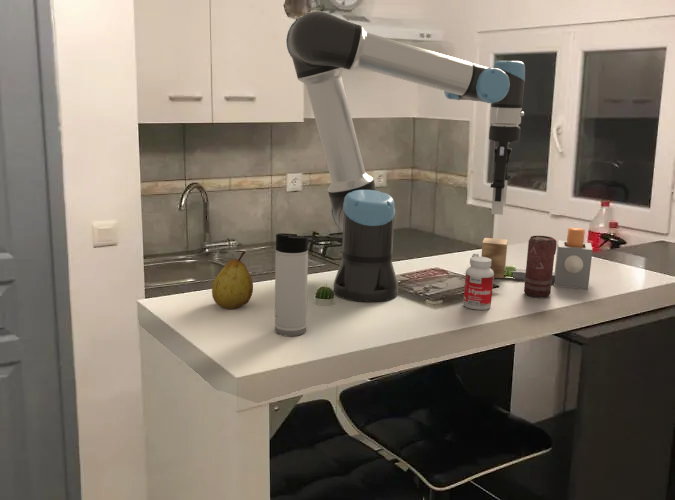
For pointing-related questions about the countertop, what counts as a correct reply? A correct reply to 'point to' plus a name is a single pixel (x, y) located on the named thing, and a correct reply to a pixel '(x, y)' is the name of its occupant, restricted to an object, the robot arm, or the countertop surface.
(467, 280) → the pill bottle
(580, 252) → the grey box
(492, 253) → the tan wooden block
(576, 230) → the plunger
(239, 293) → the fruit
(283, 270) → the travel mug
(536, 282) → the can
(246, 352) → the countertop surface
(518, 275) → the rail
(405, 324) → the countertop surface
